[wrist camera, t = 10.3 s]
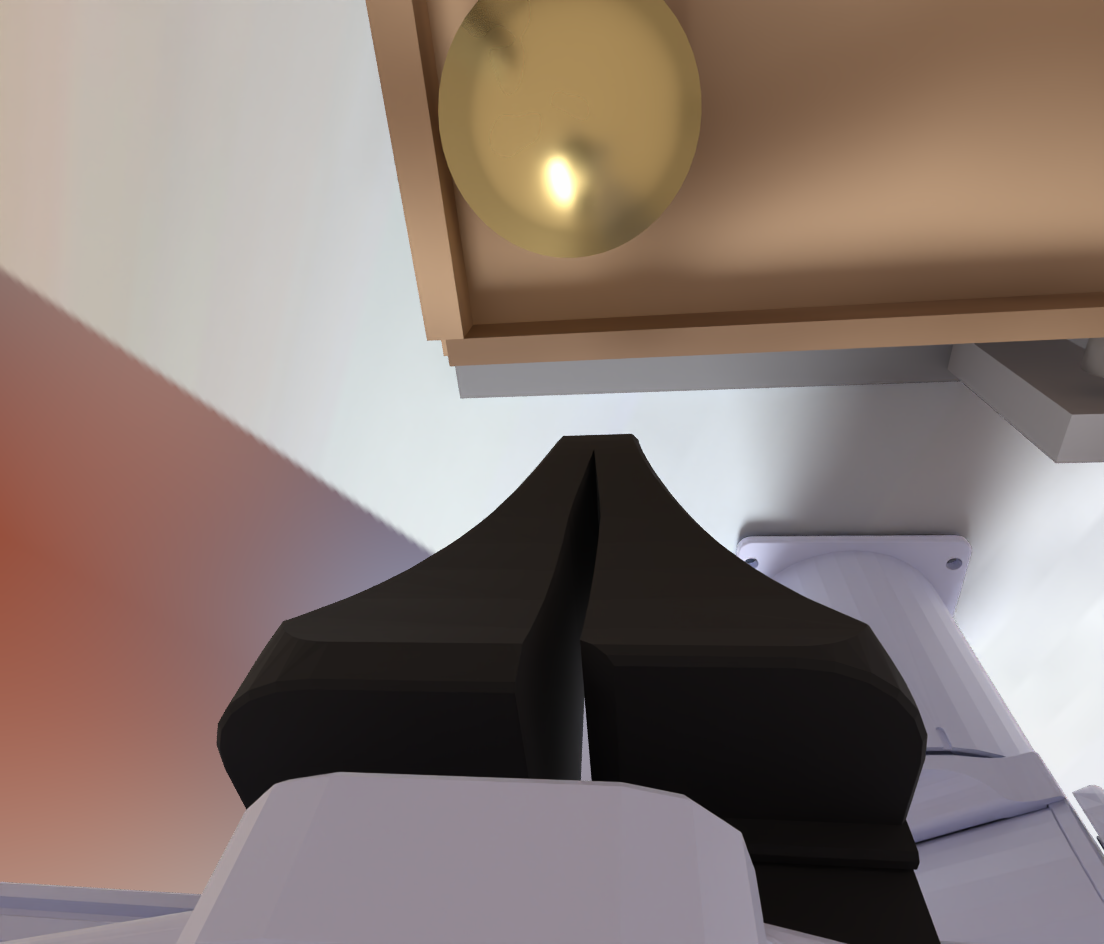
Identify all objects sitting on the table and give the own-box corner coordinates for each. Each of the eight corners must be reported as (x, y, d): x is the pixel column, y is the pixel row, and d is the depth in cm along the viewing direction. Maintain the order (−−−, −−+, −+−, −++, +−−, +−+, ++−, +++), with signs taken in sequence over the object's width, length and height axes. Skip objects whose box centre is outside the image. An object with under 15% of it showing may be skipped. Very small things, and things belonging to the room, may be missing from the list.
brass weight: (681, 222, 13) (695, 252, 11) (488, 231, 14) (455, 262, 11) (690, -22, 11) (710, -58, 9) (464, -2, 12) (419, -31, 9)
